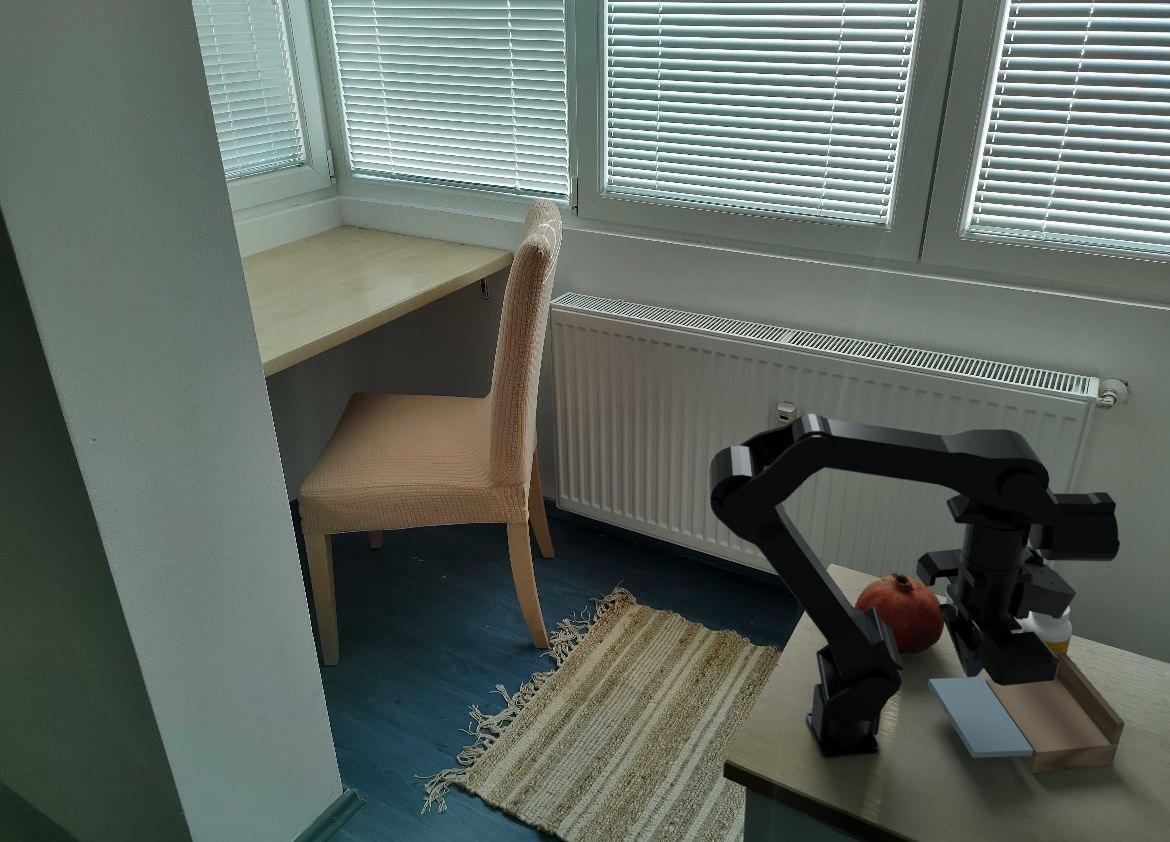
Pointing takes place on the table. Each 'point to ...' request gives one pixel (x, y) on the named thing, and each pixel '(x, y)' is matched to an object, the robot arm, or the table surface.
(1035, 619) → the supplement bottle
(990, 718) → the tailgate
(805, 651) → the table surface
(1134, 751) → the table surface
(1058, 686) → the brown platform with wall
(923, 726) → the table surface
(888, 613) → the fruit
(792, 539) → the robot arm
